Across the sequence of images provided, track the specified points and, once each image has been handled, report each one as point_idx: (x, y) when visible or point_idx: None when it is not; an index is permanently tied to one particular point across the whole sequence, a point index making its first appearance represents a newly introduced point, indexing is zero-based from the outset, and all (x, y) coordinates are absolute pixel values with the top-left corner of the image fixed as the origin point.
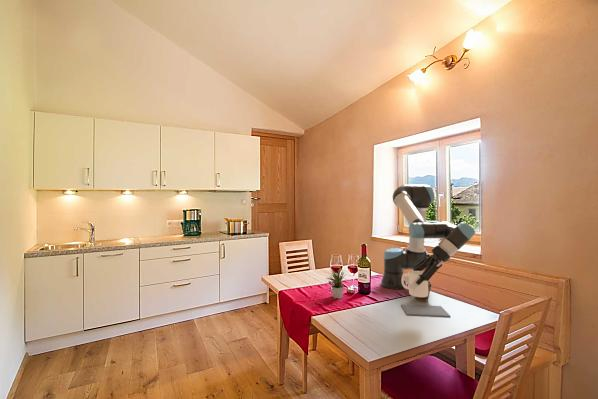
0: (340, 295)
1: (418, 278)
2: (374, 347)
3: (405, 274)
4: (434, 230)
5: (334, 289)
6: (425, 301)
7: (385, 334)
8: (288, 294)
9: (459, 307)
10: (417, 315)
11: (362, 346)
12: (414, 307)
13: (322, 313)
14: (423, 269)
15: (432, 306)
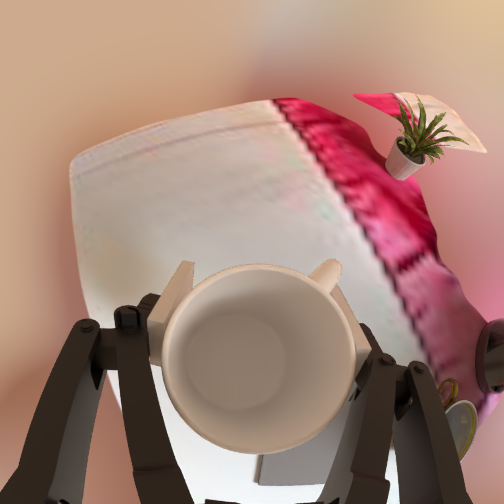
0: (391, 167)
1: (153, 312)
2: (101, 174)
3: (322, 270)
4: None
5: (394, 142)
6: (393, 440)
7: (146, 213)
8: (376, 94)
9: None
10: None
11: (112, 154)
12: None
13: (284, 114)
14: (340, 444)
15: None
